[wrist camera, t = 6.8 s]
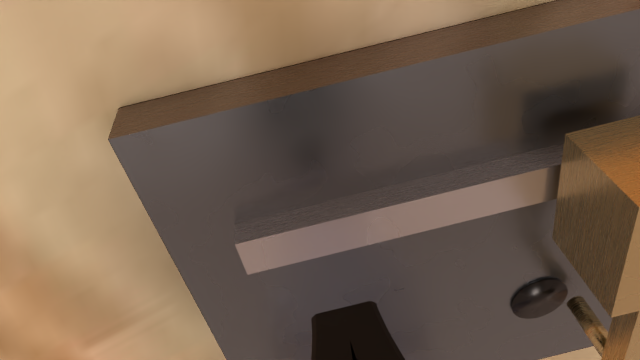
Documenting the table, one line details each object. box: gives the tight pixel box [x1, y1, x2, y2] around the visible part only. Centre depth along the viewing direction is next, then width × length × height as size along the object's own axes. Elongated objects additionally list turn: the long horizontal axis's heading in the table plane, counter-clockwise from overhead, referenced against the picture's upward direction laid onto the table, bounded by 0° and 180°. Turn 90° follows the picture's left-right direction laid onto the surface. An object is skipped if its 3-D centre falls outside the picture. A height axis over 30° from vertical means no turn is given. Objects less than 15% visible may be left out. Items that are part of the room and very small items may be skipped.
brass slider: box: [552, 115, 640, 360], centre depth 14 cm, size 8×3×3 cm, turn 11°
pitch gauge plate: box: [108, 0, 640, 360], centre depth 16 cm, size 14×26×4 cm, turn 101°
